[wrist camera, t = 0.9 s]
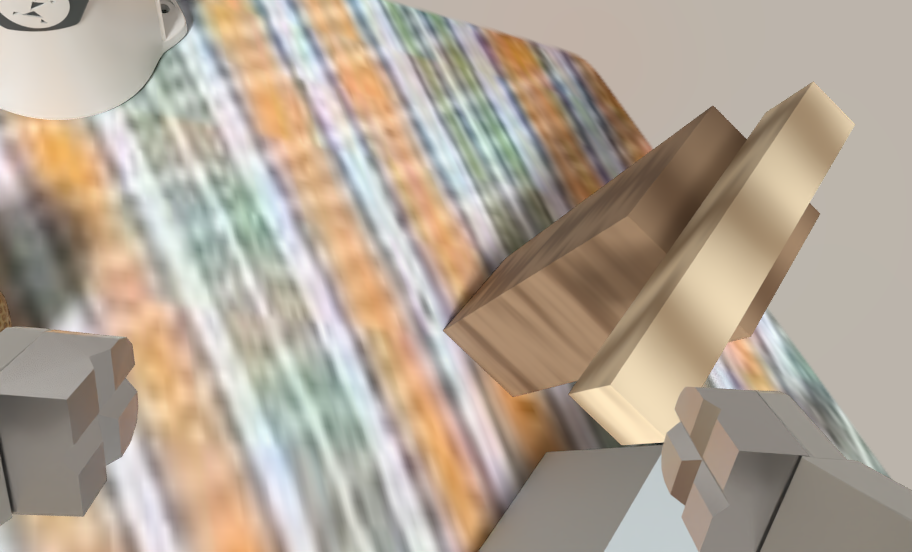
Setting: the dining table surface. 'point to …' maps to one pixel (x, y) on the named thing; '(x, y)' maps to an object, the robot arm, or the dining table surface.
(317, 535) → the dining table surface
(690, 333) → the beech rod
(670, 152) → the walnut stand
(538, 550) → the grey-blue block
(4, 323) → the natural sponge
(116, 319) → the dining table surface
